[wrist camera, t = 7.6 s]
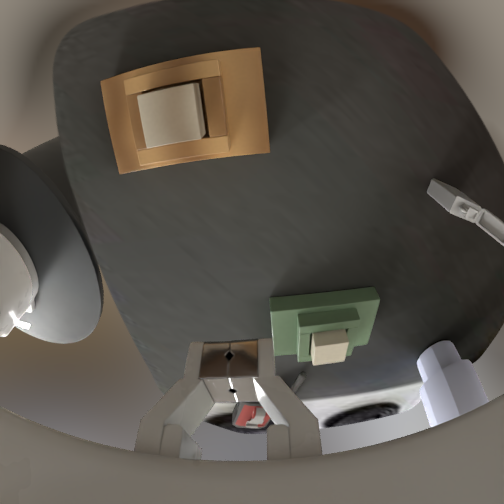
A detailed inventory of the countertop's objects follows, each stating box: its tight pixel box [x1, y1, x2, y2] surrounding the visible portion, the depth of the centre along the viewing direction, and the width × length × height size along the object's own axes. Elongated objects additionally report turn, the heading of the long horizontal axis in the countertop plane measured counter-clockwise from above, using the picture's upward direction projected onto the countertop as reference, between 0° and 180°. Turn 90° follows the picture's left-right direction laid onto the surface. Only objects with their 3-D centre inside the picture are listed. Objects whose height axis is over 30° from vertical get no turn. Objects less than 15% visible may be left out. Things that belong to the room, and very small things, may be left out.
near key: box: [137, 83, 206, 148], centre depth 16 cm, size 4×4×2 cm
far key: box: [311, 329, 349, 365], centre depth 29 cm, size 4×4×2 cm
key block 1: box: [101, 47, 270, 174], centre depth 18 cm, size 12×8×4 cm, turn 96°
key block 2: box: [270, 287, 380, 362], centre depth 31 cm, size 12×8×4 cm, turn 96°
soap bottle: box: [417, 340, 489, 427], centre depth 29 cm, size 10×10×24 cm
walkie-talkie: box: [232, 372, 306, 429], centre depth 42 cm, size 9×4×20 cm
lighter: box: [427, 178, 504, 246], centre depth 20 cm, size 7×2×8 cm, turn 78°
